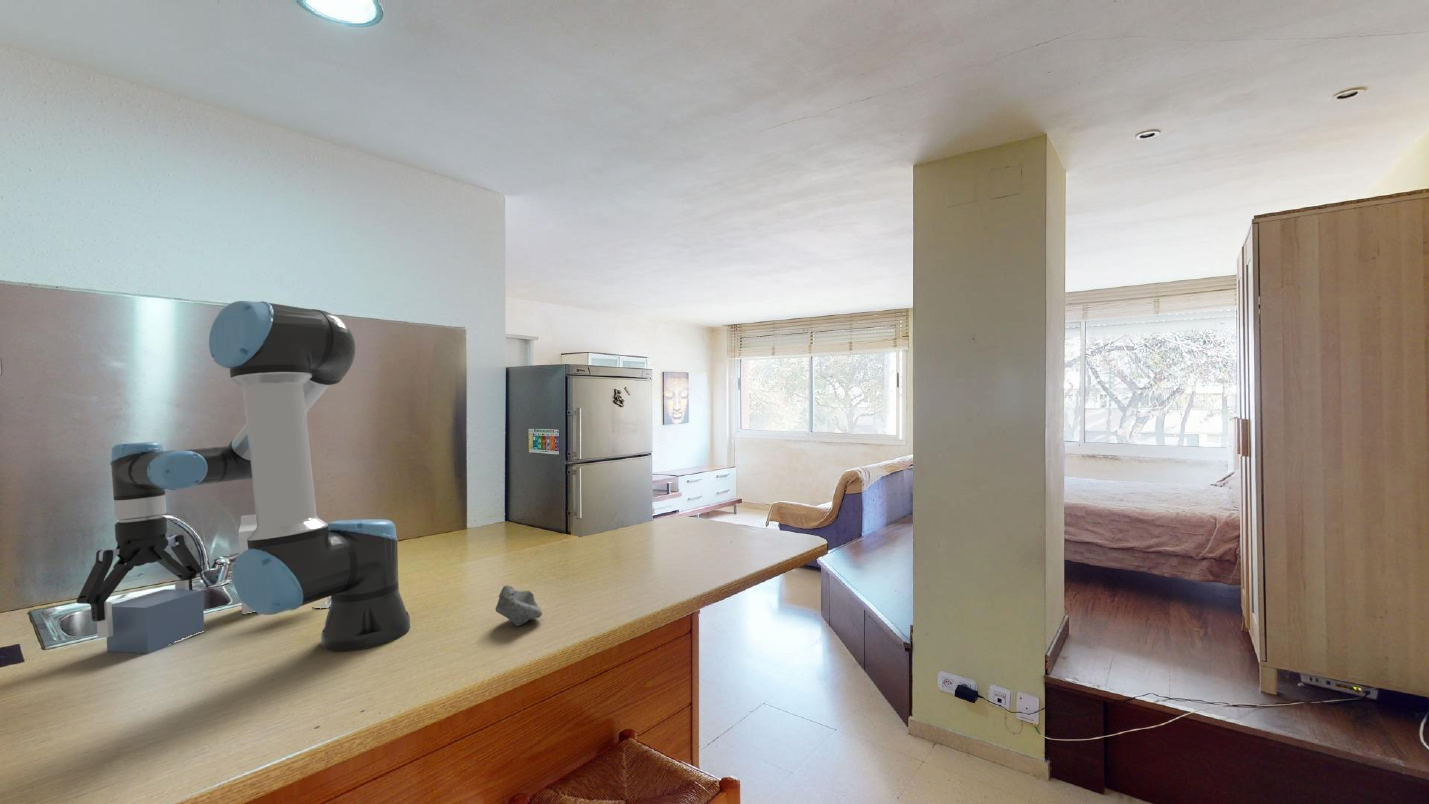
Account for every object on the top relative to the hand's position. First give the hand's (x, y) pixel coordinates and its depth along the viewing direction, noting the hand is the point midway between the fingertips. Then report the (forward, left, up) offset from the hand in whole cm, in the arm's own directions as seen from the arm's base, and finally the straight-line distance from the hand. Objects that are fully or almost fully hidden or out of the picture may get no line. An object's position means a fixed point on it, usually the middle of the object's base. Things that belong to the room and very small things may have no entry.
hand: (146, 623), depth 118 cm
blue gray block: (-3, 0, -4) cm, 4 cm away
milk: (-6, -19, -4) cm, 20 cm away
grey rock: (-74, -16, -4) cm, 76 cm away
